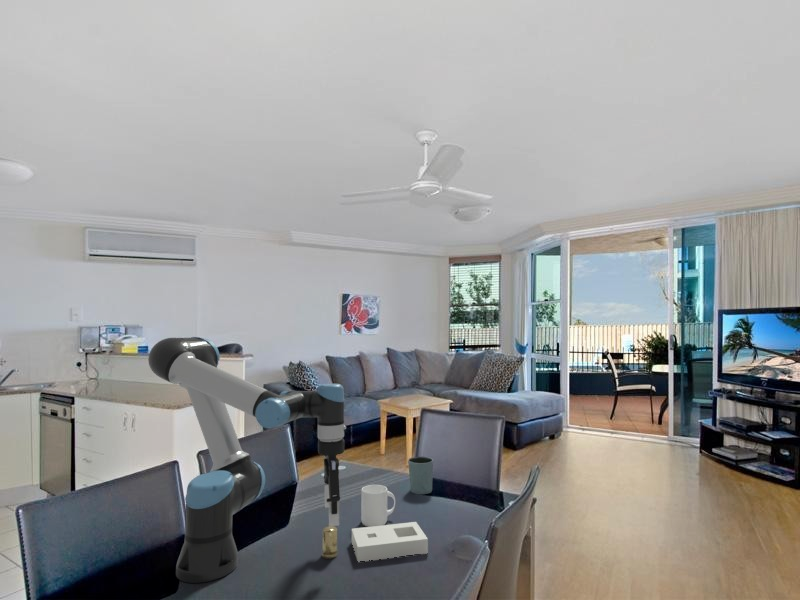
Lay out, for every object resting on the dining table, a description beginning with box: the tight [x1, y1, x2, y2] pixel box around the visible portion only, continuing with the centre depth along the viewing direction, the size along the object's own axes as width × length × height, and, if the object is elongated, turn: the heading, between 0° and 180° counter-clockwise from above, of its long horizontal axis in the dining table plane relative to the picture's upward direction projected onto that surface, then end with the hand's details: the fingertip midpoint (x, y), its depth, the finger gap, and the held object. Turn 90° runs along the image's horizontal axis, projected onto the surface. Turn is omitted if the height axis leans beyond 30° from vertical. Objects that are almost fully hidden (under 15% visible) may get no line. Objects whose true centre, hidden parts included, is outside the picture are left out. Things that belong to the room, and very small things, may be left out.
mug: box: [360, 484, 396, 527], centre depth 148 cm, size 9×12×11 cm
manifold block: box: [351, 521, 429, 563], centre depth 129 cm, size 20×12×4 cm, turn 104°
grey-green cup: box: [407, 456, 434, 495], centre depth 177 cm, size 10×10×12 cm
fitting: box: [321, 525, 338, 560], centre depth 125 cm, size 4×4×7 cm
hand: (331, 515), depth 125 cm, fingers open, 13 cm apart
